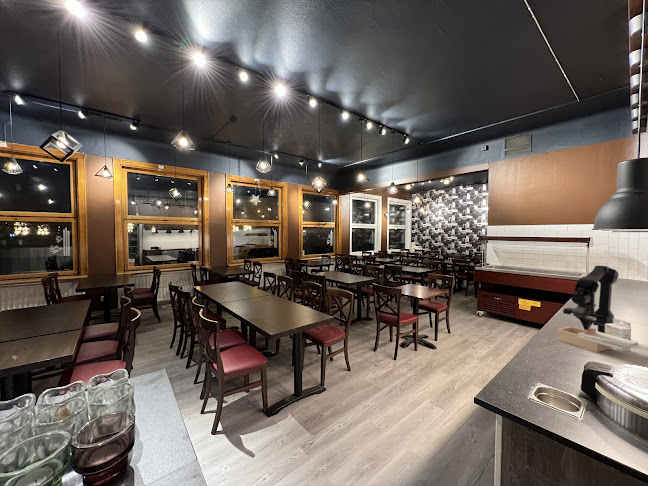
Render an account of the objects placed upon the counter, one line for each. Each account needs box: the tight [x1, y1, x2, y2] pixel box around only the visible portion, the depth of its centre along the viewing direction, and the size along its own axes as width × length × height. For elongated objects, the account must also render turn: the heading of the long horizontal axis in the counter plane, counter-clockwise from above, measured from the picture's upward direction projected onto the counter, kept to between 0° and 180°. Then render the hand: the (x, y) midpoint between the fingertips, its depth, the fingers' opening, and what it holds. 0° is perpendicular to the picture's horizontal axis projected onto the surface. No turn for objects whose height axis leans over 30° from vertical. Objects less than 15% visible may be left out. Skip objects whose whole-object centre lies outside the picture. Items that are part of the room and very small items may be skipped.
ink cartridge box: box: [605, 317, 632, 352], centre depth 140 cm, size 9×5×15 cm, turn 3°
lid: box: [577, 327, 639, 351], centre depth 136 cm, size 14×17×4 cm
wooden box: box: [557, 326, 612, 353], centre depth 145 cm, size 12×17×6 cm
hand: (586, 330), depth 144 cm, fingers closed
